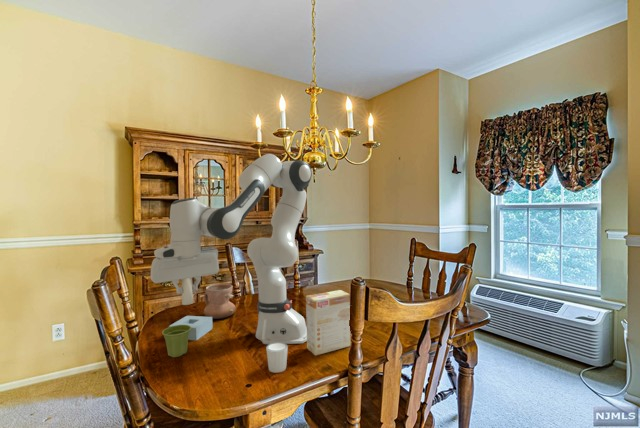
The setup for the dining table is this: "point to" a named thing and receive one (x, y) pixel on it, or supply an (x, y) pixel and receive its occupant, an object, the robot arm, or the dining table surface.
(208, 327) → the socket block
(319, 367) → the dining table surface
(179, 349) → the plant pot
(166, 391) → the dining table surface
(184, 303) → the dowel
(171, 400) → the dining table surface
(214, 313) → the ceramic jug
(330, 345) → the coffeecake box
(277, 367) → the shot glass
